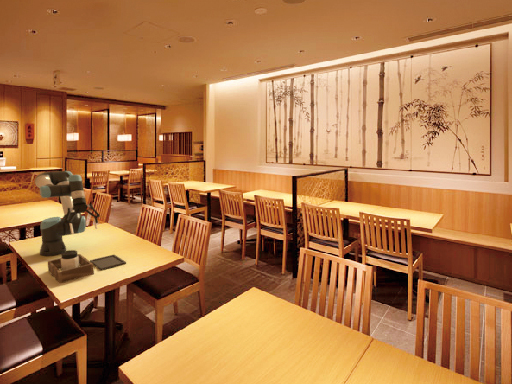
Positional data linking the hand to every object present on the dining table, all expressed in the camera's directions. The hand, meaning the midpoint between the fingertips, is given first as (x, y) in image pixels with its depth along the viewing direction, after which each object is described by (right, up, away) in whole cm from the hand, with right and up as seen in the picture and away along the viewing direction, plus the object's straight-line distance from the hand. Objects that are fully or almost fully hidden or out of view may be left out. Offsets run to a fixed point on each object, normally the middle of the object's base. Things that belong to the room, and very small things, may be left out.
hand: (84, 231), depth 202 cm
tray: (+14, -20, +1) cm, 24 cm away
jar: (-1, -22, -14) cm, 26 cm away
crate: (-1, -22, -14) cm, 26 cm away
